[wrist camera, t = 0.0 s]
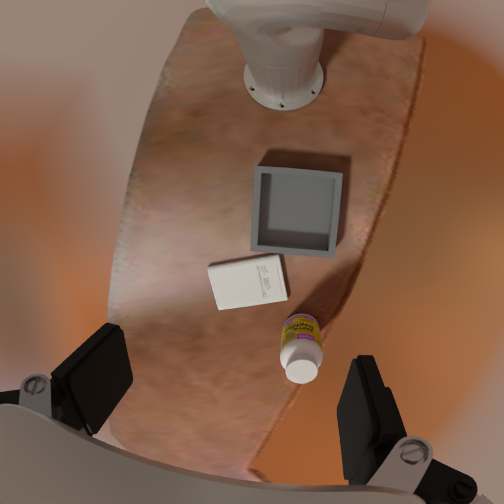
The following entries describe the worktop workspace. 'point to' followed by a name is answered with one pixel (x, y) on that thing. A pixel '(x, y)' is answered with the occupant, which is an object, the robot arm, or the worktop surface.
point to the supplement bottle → (301, 348)
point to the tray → (295, 211)
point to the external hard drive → (248, 282)
